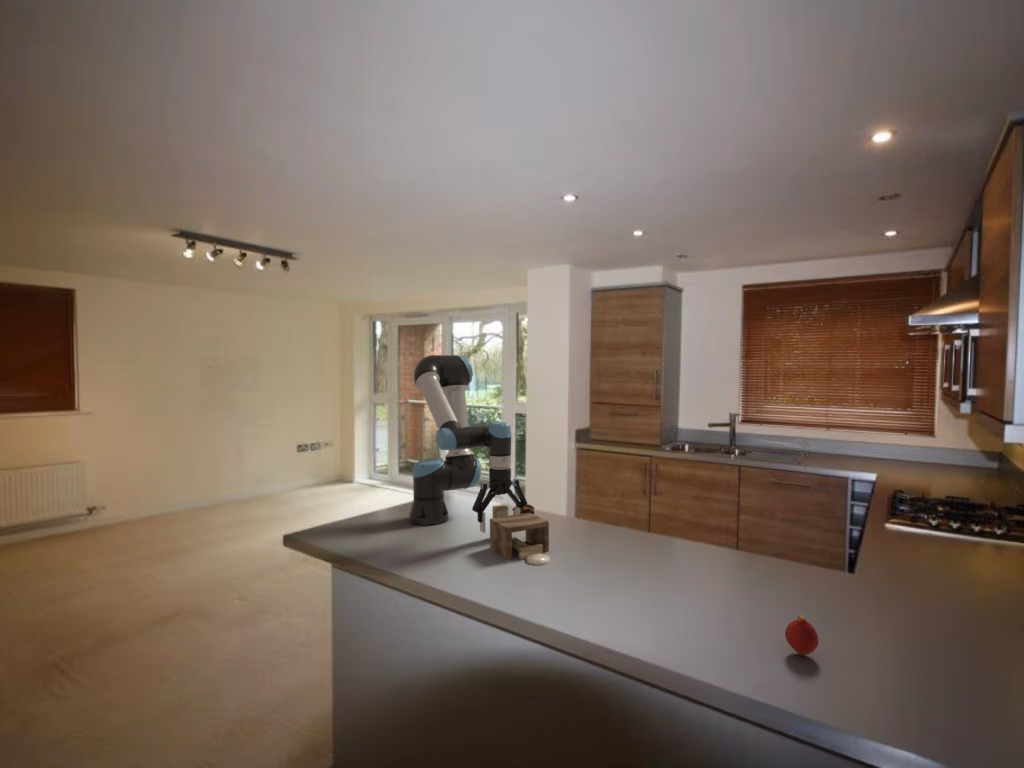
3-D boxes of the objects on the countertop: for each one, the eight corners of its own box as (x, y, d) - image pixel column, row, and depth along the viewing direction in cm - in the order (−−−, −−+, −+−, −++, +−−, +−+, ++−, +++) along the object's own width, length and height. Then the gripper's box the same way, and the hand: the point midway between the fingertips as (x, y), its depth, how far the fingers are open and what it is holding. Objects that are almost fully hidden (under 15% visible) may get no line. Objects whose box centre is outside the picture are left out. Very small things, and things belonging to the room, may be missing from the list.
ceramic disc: (522, 560, 159) (522, 556, 159) (541, 556, 162) (541, 552, 162) (534, 567, 153) (534, 563, 153) (554, 563, 156) (554, 559, 156)
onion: (807, 647, 108) (807, 609, 108) (824, 662, 102) (825, 622, 102) (779, 647, 108) (780, 609, 107) (795, 663, 102) (796, 623, 102)
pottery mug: (504, 522, 198) (509, 502, 202) (523, 530, 202) (528, 509, 206) (522, 522, 189) (527, 500, 192) (542, 530, 193) (546, 508, 196)
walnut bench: (490, 547, 169) (489, 518, 169) (529, 540, 176) (529, 512, 176) (507, 559, 158) (507, 528, 158) (548, 550, 166) (548, 521, 166)
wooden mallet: (487, 538, 179) (487, 506, 178) (507, 534, 182) (507, 503, 182) (520, 559, 158) (520, 523, 158) (542, 554, 162) (542, 519, 162)
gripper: (471, 472, 169) (471, 537, 169) (536, 465, 181) (536, 526, 181) (462, 469, 175) (462, 531, 176) (525, 462, 187) (525, 520, 188)
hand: (500, 528), depth 179 cm, fingers open, 13 cm apart
